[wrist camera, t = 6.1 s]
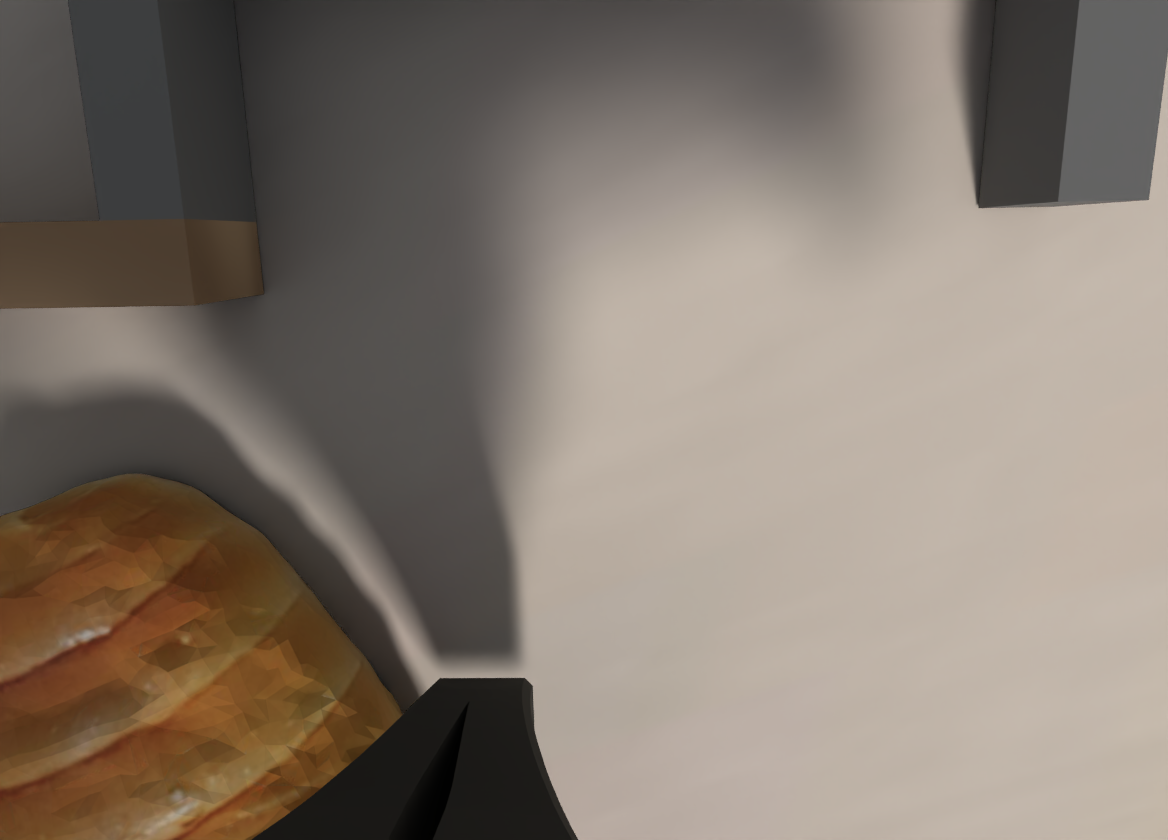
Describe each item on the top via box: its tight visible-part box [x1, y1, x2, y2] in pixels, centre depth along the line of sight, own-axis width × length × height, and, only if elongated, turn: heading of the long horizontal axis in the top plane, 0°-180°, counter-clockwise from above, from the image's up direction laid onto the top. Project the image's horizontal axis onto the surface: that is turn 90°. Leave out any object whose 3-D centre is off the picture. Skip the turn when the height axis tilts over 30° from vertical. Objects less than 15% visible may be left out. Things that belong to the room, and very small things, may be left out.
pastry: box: [0, 473, 403, 840], centre depth 12 cm, size 9×7×4 cm
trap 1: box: [68, 0, 1168, 222], centre depth 10 cm, size 4×12×2 cm, turn 91°
